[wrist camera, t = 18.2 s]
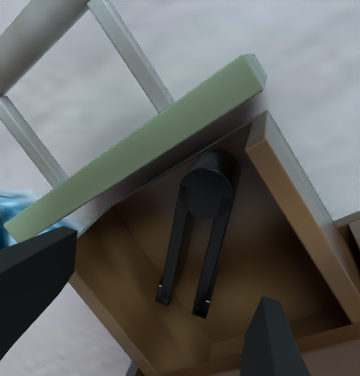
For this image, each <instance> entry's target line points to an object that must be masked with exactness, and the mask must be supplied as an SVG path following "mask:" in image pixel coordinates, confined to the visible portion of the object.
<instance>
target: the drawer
mask: <svg viewBox="0 0 360 376" xmlns="http://www.w3.org/2000/svg"><path fill="white" fill-rule="evenodd" d="M88 9H90V10H91V12H92V13H93V15H94V16H95V18H96V19H97V21H98V22H99V24H100V25H101V27H102V28H103V30H104V31H105V33H106V34H107V36H108V37H109V39H110V40H111V42H112V43H113V45H114V47H115V48H116V50H117V51H118V53H119V54H120V56H121V57H122V59H123V60H124V62H125V63H126V65H127V66H128V68H129V69H130V71H131V72H132V74H133V75H134V77H135V78H136V80H137V81H138V83H139V84H140V86H141V87H142V89H143V90H144V92H145V93H146V95H147V96H148V98H149V99H150V101H151V102H152V104H153V105H154V107H155V108H156V110H157V111H158V113H159V114H158V115H157V116H155V117H154V118H152V119H151V120H149V121H148V122H147V123H145V124H144V125H142V126H141V127H140V128H138V129H137V130H135V131H134V132H133V133H131V134H130V135H128V136H127V137H126V138H124V139H123V140H121V141H120V142H119V143H117V144H116V145H114V146H113V147H112V148H110V149H109V150H107V151H106V152H105V153H103V154H102V155H100V156H99V157H98V158H96V159H95V160H93V161H92V162H91V163H89V164H88V165H86V166H85V167H84V168H82V169H81V170H79V171H78V172H77V173H75V174H74V175H72V176H71V177H70V178H69V177H68V176H67V175H66V173H65V172H64V171H63V169H62V168H61V167H60V165H59V164H58V163H57V161H56V160H55V159H54V157H53V156H52V155H51V153H50V152H49V151H48V150H47V148H46V147H45V146H44V144H43V143H42V142H41V140H40V139H39V138H38V136H37V135H36V134H35V132H34V131H33V130H32V128H31V127H30V126H29V124H28V123H27V122H26V120H25V119H24V118H23V116H22V115H21V114H20V112H19V111H18V110H17V108H16V107H15V106H14V105H13V103H12V102H11V101H10V99H9V98H8V97H7V96H4V95H5V94H6V93H7V92H8V91H9V90H10V89H11V88H12V87H13V86H14V85H15V84H16V83H17V82H18V81H19V80H20V79H21V78H22V77H23V76H24V75H25V74H26V73H27V72H28V70H29V69H30V68H31V67H32V66H33V65H34V64H35V63H36V62H37V61H38V60H39V59H40V58H41V57H42V56H43V55H44V54H45V53H46V52H47V51H48V50H49V49H50V48H51V47H52V46H53V45H54V44H55V43H56V42H57V41H58V40H59V39H60V38H61V37H62V36H63V35H64V34H65V33H66V32H67V31H68V30H69V29H70V28H71V27H72V26H73V25H74V24H75V23H76V22H77V21H78V20H79V19H80V18H81V17H82V16H83V15H84V14H85V13H86V12H87V11H88ZM266 77H267V75H266V73H265V71H264V70H263V68H262V66H261V64H260V63H259V61H258V59H257V58H256V56H255V55H254V54H245V55H241V56H239V57H238V58H236V59H235V60H234V61H232V62H231V63H229V64H228V65H227V66H225V67H224V68H222V69H221V70H220V71H218V72H217V73H215V74H214V75H213V76H211V77H210V78H208V79H207V80H206V81H204V82H203V83H201V84H200V85H199V86H197V87H196V88H194V89H193V90H192V91H190V92H189V93H187V94H186V95H185V96H183V97H182V98H180V99H179V100H178V101H176V102H175V100H174V99H173V97H172V96H171V94H170V93H169V91H168V89H167V88H166V86H165V85H164V83H163V82H162V80H161V79H160V77H159V75H158V74H157V72H156V71H155V69H154V68H153V66H152V65H151V63H150V62H149V60H148V58H147V57H146V55H145V54H144V52H143V51H142V49H141V48H140V46H139V45H138V43H137V41H136V40H135V38H134V37H133V35H132V34H131V32H130V31H129V29H128V28H127V26H126V24H125V23H124V21H123V20H122V18H121V17H120V15H119V14H118V12H117V11H116V9H115V7H114V6H113V4H112V3H111V1H110V0H31V1H30V2H29V3H28V4H27V6H26V7H25V8H24V9H23V10H22V11H21V13H20V14H19V15H18V16H17V17H16V18H15V20H14V21H13V22H12V23H11V24H10V25H9V27H8V28H7V29H6V30H5V31H4V32H3V34H2V35H1V36H0V120H1V121H2V122H3V124H4V125H5V126H6V127H7V129H8V130H9V131H10V133H11V134H12V135H13V137H14V138H15V139H16V140H17V142H18V143H19V144H20V146H21V147H22V148H23V149H24V151H25V152H26V153H27V155H28V156H29V157H30V159H31V160H32V161H33V162H34V164H35V165H36V166H37V168H38V169H39V170H40V171H41V173H42V174H43V175H44V177H45V178H46V179H47V181H48V182H49V183H50V184H51V186H52V187H53V188H54V189H53V190H51V191H50V192H49V193H47V194H46V195H44V196H43V197H42V198H40V199H39V200H37V201H36V202H35V203H33V204H32V205H30V206H29V207H28V208H26V209H25V210H23V211H22V212H20V213H19V214H18V215H16V216H15V217H13V218H12V219H11V220H9V221H8V222H6V223H5V224H4V227H5V228H6V229H7V231H8V232H9V233H10V234H11V235H12V237H13V238H14V239H15V240H16V242H17V243H20V242H23V241H25V240H28V239H30V238H33V237H34V236H36V235H38V234H39V233H41V232H42V231H44V230H45V229H47V228H49V227H50V226H52V225H53V224H55V223H56V222H58V221H60V220H61V219H63V218H64V217H66V216H67V215H69V214H71V213H72V212H74V211H75V210H77V209H78V208H80V207H81V206H83V205H85V204H86V203H88V202H89V201H91V200H92V199H94V198H96V197H97V196H99V195H100V194H102V193H103V192H105V191H107V190H108V189H110V188H111V187H113V186H114V185H116V184H117V183H119V182H121V181H122V180H124V179H125V178H127V177H128V176H130V175H132V174H133V173H135V172H136V171H138V170H139V169H141V168H143V167H144V166H146V165H147V164H149V163H150V162H152V161H154V160H155V159H157V158H158V157H160V156H161V155H163V154H164V153H166V152H168V151H169V150H171V149H172V148H174V147H175V146H177V145H179V144H180V143H182V142H183V141H185V140H186V139H188V138H190V137H191V136H193V135H194V134H196V133H197V132H199V131H200V130H202V129H204V128H205V127H207V126H208V125H210V124H211V123H213V122H215V121H216V120H218V119H219V118H221V117H222V116H224V115H226V114H227V113H229V112H230V111H232V110H233V109H235V108H237V107H238V106H240V105H241V104H243V103H244V102H246V101H247V100H249V99H251V98H252V97H254V96H255V95H257V94H258V93H260V92H262V91H263V89H264V86H265V81H266ZM212 149H220V150H224V151H226V152H228V153H230V154H231V155H233V156H234V157H235V159H236V160H237V162H238V163H239V166H240V172H241V173H240V179H239V183H238V187H237V191H236V195H235V198H234V202H233V206H232V210H231V213H230V217H229V221H228V224H227V228H226V232H225V236H224V239H223V243H222V247H221V250H220V254H219V258H218V261H217V265H216V266H219V271H218V275H217V279H216V283H215V287H214V291H213V295H212V299H211V303H210V307H209V310H208V314H207V318H206V319H204V318H201V317H198V316H195V315H192V313H191V312H192V308H193V304H194V300H195V296H196V292H197V288H198V284H199V280H200V276H201V272H202V268H203V264H204V260H205V256H206V252H207V248H208V244H209V240H210V236H211V231H212V227H213V223H214V219H209V220H207V219H201V218H198V217H196V216H195V219H194V223H193V228H192V233H191V237H190V242H189V247H188V251H187V256H186V261H185V265H184V269H183V273H182V275H181V278H180V280H179V283H178V285H177V288H176V290H175V292H174V295H173V297H172V300H171V302H170V305H169V306H166V305H163V304H160V303H157V302H155V298H156V292H157V286H158V284H159V282H160V280H161V278H162V276H163V274H164V269H165V263H166V258H167V252H168V247H169V241H170V236H171V230H172V225H173V219H174V214H175V208H176V203H177V197H178V192H179V186H180V183H181V181H182V179H183V178H184V176H185V175H186V174H187V172H188V171H189V169H190V168H191V167H192V165H193V164H194V162H195V161H196V160H197V158H198V157H199V156H200V155H201V154H202V153H204V152H206V151H208V150H212ZM68 282H69V283H70V284H71V286H72V287H73V288H74V289H75V291H76V292H77V293H78V294H79V296H80V297H81V298H82V299H83V300H84V302H85V303H86V304H87V305H88V307H89V308H90V309H91V310H92V311H93V313H94V314H95V315H96V316H97V318H98V319H99V320H100V321H101V322H102V324H103V325H104V326H105V327H106V329H107V330H108V331H109V332H110V334H111V335H112V336H113V337H114V338H115V340H116V341H117V342H118V343H119V345H120V346H121V347H122V348H123V349H124V351H125V352H126V353H127V354H128V356H129V357H130V358H131V359H132V360H133V362H134V363H135V364H136V365H137V367H138V368H139V369H140V370H141V371H142V373H143V374H144V375H145V376H156V375H160V374H164V373H168V372H171V371H175V370H179V369H183V368H187V367H191V366H194V365H198V364H202V363H206V362H210V361H213V360H217V359H221V358H225V357H229V356H232V355H236V354H240V353H242V351H243V345H244V339H245V334H246V332H247V330H248V327H249V325H250V323H251V321H252V318H253V316H254V314H255V311H256V309H257V307H258V304H259V302H260V300H261V297H262V296H265V297H268V298H271V299H274V300H277V301H280V303H281V305H282V308H283V311H284V313H285V316H286V319H287V321H288V324H289V327H290V329H291V332H292V334H293V337H294V339H297V338H301V337H305V336H309V335H312V334H316V333H320V332H324V331H328V330H331V329H335V328H339V327H343V326H347V325H350V324H354V323H358V322H360V265H359V264H358V262H357V260H356V259H355V257H354V255H353V254H352V252H351V250H350V248H349V247H348V245H347V243H346V242H345V240H344V238H343V237H342V235H341V233H340V231H339V230H338V228H337V226H336V225H335V223H334V221H333V220H332V218H331V216H330V214H329V213H328V211H327V209H326V208H325V206H324V204H323V203H322V201H321V199H320V197H319V196H318V194H317V192H316V191H315V189H314V187H313V186H312V184H311V182H310V180H309V179H308V177H307V175H306V174H305V172H304V170H303V169H302V167H301V165H300V163H299V162H298V160H297V158H296V157H295V155H294V153H293V152H292V150H291V148H290V146H289V145H288V143H287V141H286V140H285V138H284V136H283V135H282V133H281V131H280V129H279V128H278V126H277V124H276V123H275V121H274V119H273V118H272V116H271V114H270V112H269V111H268V110H266V111H264V112H263V113H261V114H260V115H258V116H256V117H255V118H253V119H251V120H250V121H248V122H246V123H245V124H243V125H241V126H240V127H238V128H236V129H235V130H233V131H231V132H230V133H228V134H227V135H225V136H223V137H222V138H220V139H218V140H217V141H215V142H213V143H212V144H210V145H208V146H207V147H205V148H203V149H202V150H200V151H199V152H197V153H195V154H194V155H192V156H190V157H189V158H187V159H185V160H184V161H182V162H180V163H179V164H177V165H175V166H174V167H172V168H170V169H169V170H167V171H166V172H164V173H162V174H161V175H159V176H157V177H156V178H154V179H152V180H151V181H149V182H147V183H146V184H144V185H142V186H141V187H139V188H138V189H136V190H134V191H133V192H131V193H129V194H128V195H126V196H124V197H123V198H121V199H119V200H118V201H116V202H114V203H113V204H111V205H109V206H108V207H107V208H106V209H105V210H104V211H103V212H101V213H100V214H99V215H98V216H97V217H96V218H95V219H94V220H93V221H92V222H91V223H90V224H89V225H87V226H86V227H85V228H84V229H83V230H82V231H81V232H80V233H79V234H78V235H77V245H76V258H75V271H74V273H73V275H72V276H71V278H70V279H69V281H68Z"/></svg>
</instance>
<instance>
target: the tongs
mask: <svg viewBox="0 0 360 376" xmlns="http://www.w3.org/2000/svg"><path fill="white" fill-rule="evenodd" d="M240 173H241V172H240V166H239V163H238V162H237V160H236V159H235V157H234V156H233V155H231V154H230V153H228V152H226V151H224V150H220V149H212V150H208V151H206V152H204V153H202V154H201V155H200V156H199V157H198V158H197V160H196V161H195V162H194V164H193V165H192V167H191V168H190V169H189V171H188V172H187V174H186V175H185V176H184V178H183V179H182V181H181V183H180V186H179V192H178V197H177V203H176V208H175V214H174V219H173V225H172V230H171V236H170V241H169V247H168V252H167V258H166V263H165V269H164V274H163V276H162V278H161V280H160V282H159V284H158V286H157V292H156V298H155V302H157V303H160V304H163V305H166V306H169V305H170V302H171V300H172V297H173V295H174V292H175V290H176V288H177V285H178V283H179V280H180V278H181V275H182V273H183V269H184V265H185V261H186V256H187V251H188V247H189V242H190V237H191V233H192V228H193V223H194V219H195V216H196V217H198V218H201V219H207V220H209V219H214V223H213V227H212V231H211V236H210V240H209V244H208V248H207V252H206V256H205V260H204V264H203V268H202V272H201V276H200V280H199V284H198V288H197V292H196V296H195V300H194V304H193V308H192V312H191V313H192V315H195V316H198V317H201V318H204V319H206V318H207V314H208V310H209V307H210V303H211V299H212V295H213V291H214V287H215V283H216V279H217V275H218V271H219V266H216V265H217V261H218V258H219V254H220V250H221V247H222V243H223V239H224V236H225V232H226V228H227V224H228V221H229V217H230V213H231V210H232V206H233V202H234V198H235V195H236V191H237V187H238V183H239V179H240Z"/></svg>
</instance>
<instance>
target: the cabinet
mask: <svg viewBox="0 0 360 376" xmlns="http://www.w3.org/2000/svg"><path fill="white" fill-rule="evenodd" d="M334 223H335V225H336V226H337V228H338V230H339V231H340V233H341V235H342V237H343V238H344V240H345V242H346V243H347V245H348V247H349V248H350V250H351V252H352V254H353V255H354V257H355V259H356V260H357V262H358V264H359V265H360V212H356V213H353V214H351V215H348V216H346V217H344V218H341V219H339V220H336V221H334ZM295 342H296V344H297V346H298V349H299V351H300V353H301V355H302V358H303V360H304V362H305V364H306V366H307V369H308V371H309V373H310V375H311V376H360V322H358V323H354V324H350V325H347V326H343V327H339V328H335V329H331V330H328V331H324V332H320V333H316V334H312V335H309V336H305V337H301V338H297V339H295ZM241 357H242V353H240V354H236V355H232V356H229V357H225V358H221V359H217V360H213V361H210V362H206V363H202V364H198V365H194V366H191V367H187V368H183V369H179V370H175V371H171V372H168V373H164V374H160V375H156V376H240V364H241ZM126 376H145V375H144V374H143V373H142V371H141V370H140V369H139V368H138V367H137V365H136V364H135V363H134V362H133V360H132V363H131V365H130V367H129V369H128V371H127V374H126Z"/></svg>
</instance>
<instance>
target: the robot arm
mask: <svg viewBox="0 0 360 376" xmlns="http://www.w3.org/2000/svg"><path fill="white" fill-rule="evenodd" d="M77 233H78V231H77V230H74V229H71V228H68V227H65V226H62V227H59V228H56V229H54V230H51V231H48V232H46V233H43V234H41V235H38V236H36V237H33V238H30V239H28V240H25V241H23V242H20V243H17V244H15V245H12V246H9V247H6V248H4V249H1V250H0V361H1V359H2V358H3V357H4V355H5V354H6V353H7V352H8V350H9V349H10V348H11V347H12V346H13V344H14V343H15V342H16V341H17V340H18V339H19V338H20V337H21V335H22V334H23V333H24V332H25V331H26V330H27V329H28V328H29V327H30V326H31V324H32V323H33V322H34V321H35V320H36V319H37V318H38V317H39V316H40V315H41V314H42V312H43V311H44V310H45V309H46V308H47V307H48V306H49V305H50V304H51V302H52V301H53V300H54V299H55V298H56V297H57V296H58V295H59V293H60V292H61V291H62V289H63V288H64V286H65V285H66V284H67V282H68V281H69V279H70V278H71V276H72V275H73V273H74V271H75V258H76V245H77ZM240 376H311V375H310V373H309V371H308V369H307V366H306V364H305V362H304V360H303V358H302V355H301V353H300V351H299V349H298V346H297V344H296V342H295V339H294V337H293V334H292V332H291V329H290V327H289V324H288V321H287V319H286V316H285V313H284V311H283V308H282V305H281V303H280V301H277V300H274V299H271V298H268V297H265V296H262V297H261V300H260V302H259V304H258V307H257V309H256V311H255V314H254V316H253V318H252V321H251V323H250V325H249V327H248V330H247V332H246V334H245V339H244V345H243V351H242V357H241V364H240Z"/></svg>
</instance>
